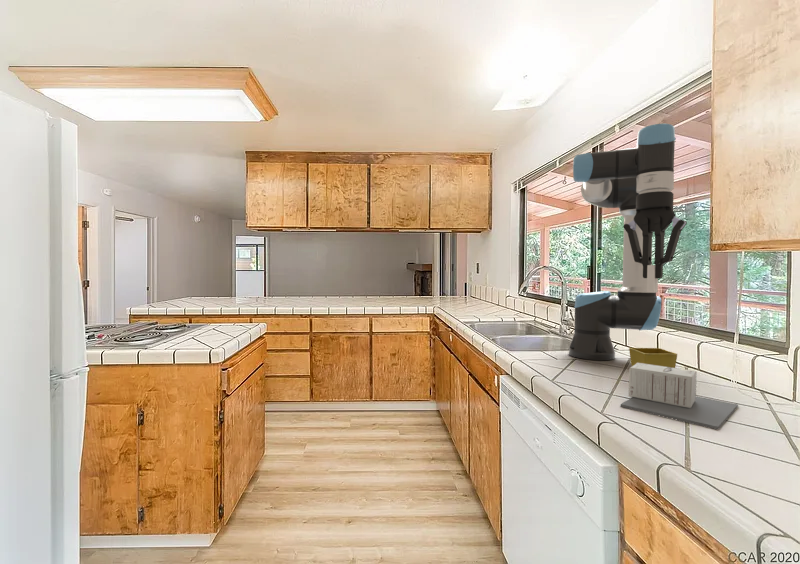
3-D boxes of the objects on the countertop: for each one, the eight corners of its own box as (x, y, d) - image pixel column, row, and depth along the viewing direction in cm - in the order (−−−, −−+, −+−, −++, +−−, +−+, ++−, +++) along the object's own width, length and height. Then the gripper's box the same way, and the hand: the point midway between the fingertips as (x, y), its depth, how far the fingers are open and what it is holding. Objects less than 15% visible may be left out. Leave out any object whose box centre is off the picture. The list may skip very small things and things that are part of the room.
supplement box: (636, 361, 104) (697, 370, 96) (635, 390, 104) (696, 401, 96) (628, 366, 99) (692, 376, 90) (628, 397, 99) (691, 409, 90)
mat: (649, 389, 107) (650, 387, 107) (737, 406, 94) (738, 404, 94) (620, 406, 94) (620, 404, 94) (718, 429, 80) (718, 426, 80)
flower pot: (627, 377, 119) (628, 347, 118) (658, 378, 118) (659, 347, 118) (643, 386, 110) (644, 353, 110) (677, 387, 109) (678, 353, 109)
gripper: (619, 194, 99) (617, 291, 100) (682, 186, 89) (679, 294, 90) (630, 198, 104) (628, 290, 105) (691, 191, 94) (689, 292, 95)
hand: (652, 292), depth 98 cm, fingers closed
